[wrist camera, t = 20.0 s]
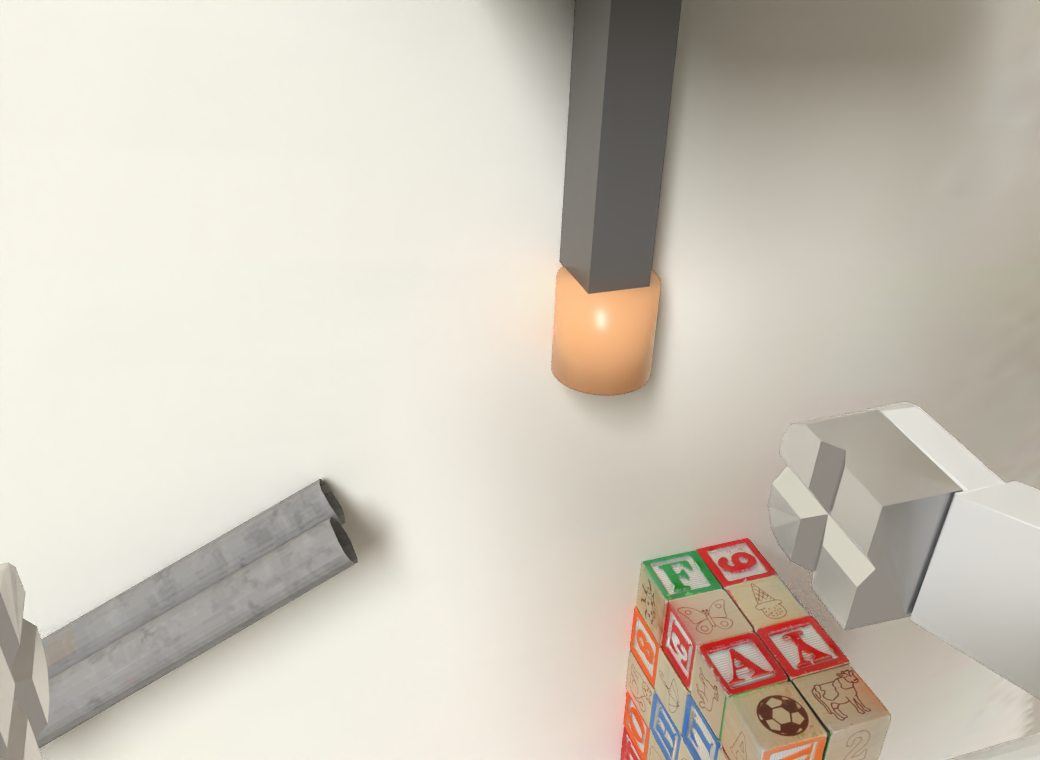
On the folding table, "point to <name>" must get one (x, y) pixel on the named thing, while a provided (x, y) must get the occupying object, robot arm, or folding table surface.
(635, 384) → the plug
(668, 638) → the stack of blocks
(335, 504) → the metal rod assembly
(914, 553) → the robot arm
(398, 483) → the folding table surface
